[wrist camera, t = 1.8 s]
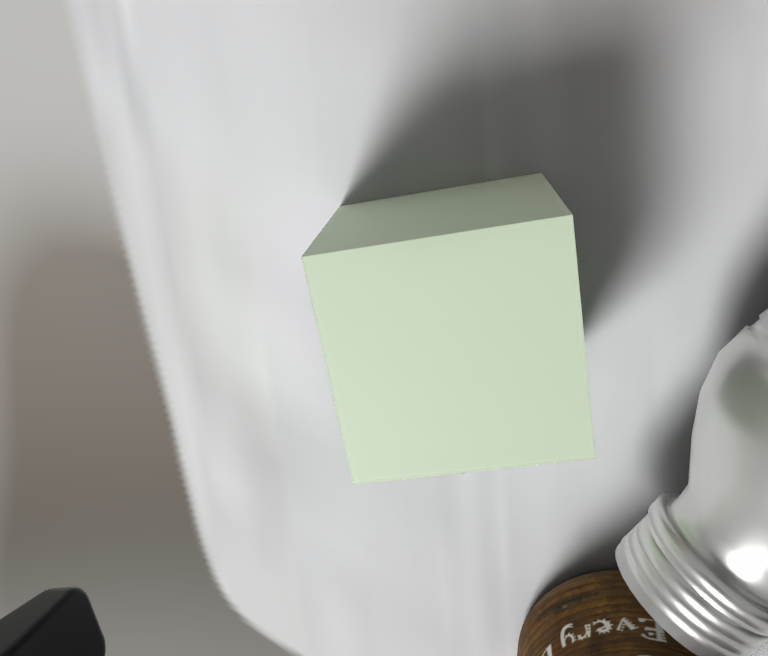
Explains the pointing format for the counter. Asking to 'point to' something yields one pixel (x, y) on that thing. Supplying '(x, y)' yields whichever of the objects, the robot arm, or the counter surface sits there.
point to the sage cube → (453, 330)
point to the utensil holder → (594, 622)
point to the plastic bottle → (713, 516)
